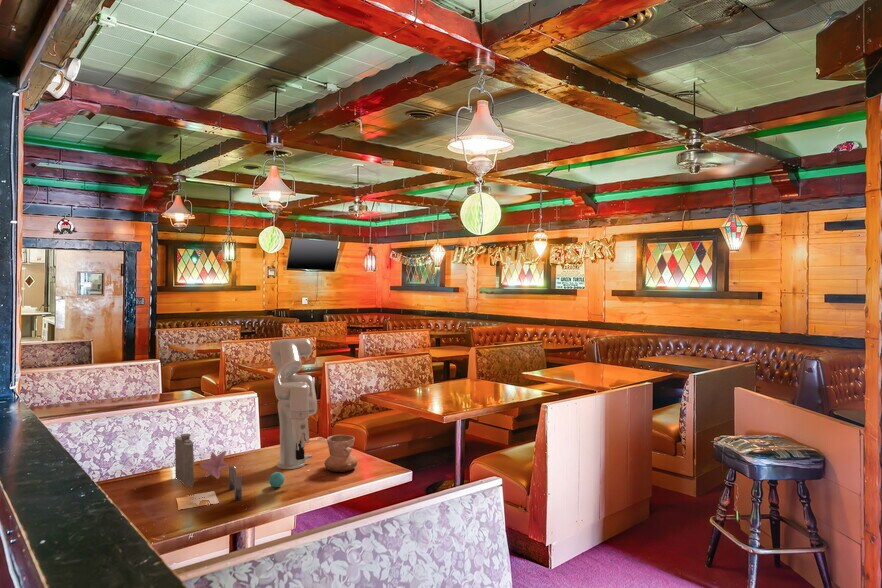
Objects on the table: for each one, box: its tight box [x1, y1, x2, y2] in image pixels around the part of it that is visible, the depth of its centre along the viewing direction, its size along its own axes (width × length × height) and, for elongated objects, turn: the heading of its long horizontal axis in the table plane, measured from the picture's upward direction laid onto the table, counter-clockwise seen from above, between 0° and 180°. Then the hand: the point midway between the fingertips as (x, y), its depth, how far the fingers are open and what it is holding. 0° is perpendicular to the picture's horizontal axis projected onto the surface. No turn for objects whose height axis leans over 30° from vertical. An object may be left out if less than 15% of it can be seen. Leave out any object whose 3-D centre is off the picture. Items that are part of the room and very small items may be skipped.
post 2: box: [234, 474, 243, 502], centre depth 218 cm, size 3×3×9 cm
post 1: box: [228, 465, 237, 491], centre depth 229 cm, size 3×3×9 cm
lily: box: [199, 450, 230, 480], centre depth 246 cm, size 12×12×10 cm
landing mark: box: [187, 490, 220, 506], centre depth 217 cm, size 14×14×1 cm
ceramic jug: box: [324, 434, 358, 473], centre depth 253 cm, size 18×14×14 cm
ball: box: [268, 471, 285, 488], centre depth 231 cm, size 6×6×6 cm
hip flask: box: [174, 433, 195, 488], centre depth 237 cm, size 16×4×20 cm, turn 42°
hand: (300, 459), depth 235 cm, fingers closed
